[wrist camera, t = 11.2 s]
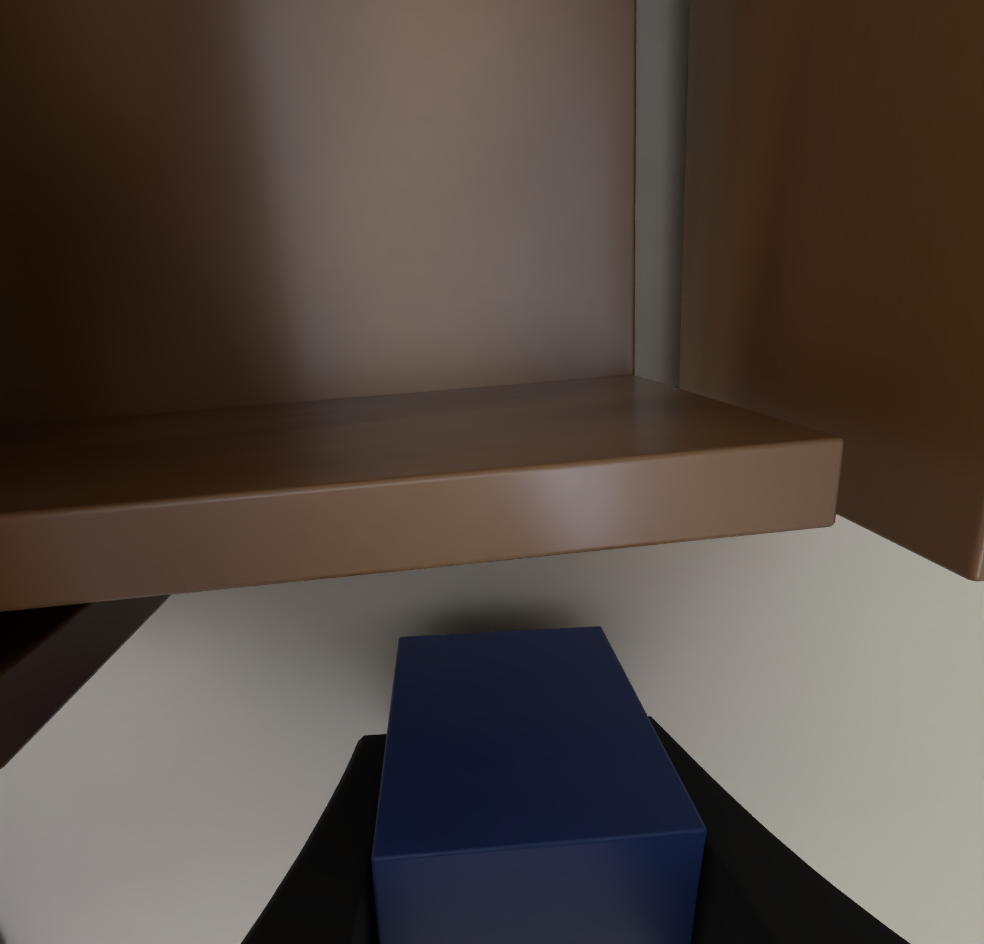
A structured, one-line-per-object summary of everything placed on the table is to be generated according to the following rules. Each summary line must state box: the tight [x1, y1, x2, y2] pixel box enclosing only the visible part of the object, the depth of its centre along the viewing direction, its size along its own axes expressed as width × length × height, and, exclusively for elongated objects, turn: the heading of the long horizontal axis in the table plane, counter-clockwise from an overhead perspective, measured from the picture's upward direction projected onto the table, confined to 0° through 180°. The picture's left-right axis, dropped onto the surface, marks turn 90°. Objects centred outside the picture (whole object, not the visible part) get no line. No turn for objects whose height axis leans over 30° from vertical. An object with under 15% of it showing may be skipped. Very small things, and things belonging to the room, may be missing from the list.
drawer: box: [0, 0, 984, 612], centre depth 6 cm, size 18×11×6 cm, turn 94°
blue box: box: [371, 626, 707, 944], centre depth 9 cm, size 4×4×4 cm
